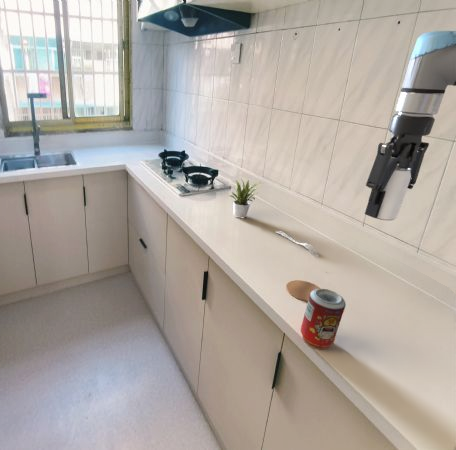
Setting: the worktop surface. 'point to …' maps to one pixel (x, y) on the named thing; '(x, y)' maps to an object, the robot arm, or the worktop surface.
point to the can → (394, 193)
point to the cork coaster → (300, 289)
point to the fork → (299, 243)
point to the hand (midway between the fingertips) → (381, 214)
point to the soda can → (322, 318)
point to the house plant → (242, 199)
